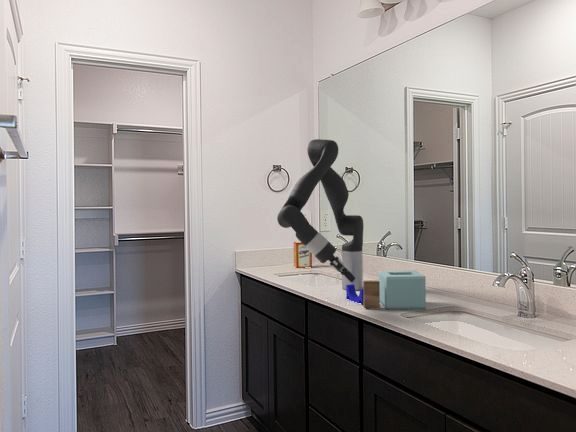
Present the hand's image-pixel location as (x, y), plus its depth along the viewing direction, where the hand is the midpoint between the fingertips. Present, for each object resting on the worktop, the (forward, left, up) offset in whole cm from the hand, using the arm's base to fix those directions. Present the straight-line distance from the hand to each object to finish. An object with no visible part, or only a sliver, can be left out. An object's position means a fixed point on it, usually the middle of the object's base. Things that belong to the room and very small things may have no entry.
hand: (352, 278), depth 165 cm
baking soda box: (-108, -16, -11) cm, 110 cm away
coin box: (-4, +19, -11) cm, 22 cm away
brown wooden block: (0, +7, -11) cm, 13 cm away
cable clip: (-11, +4, -11) cm, 17 cm away
